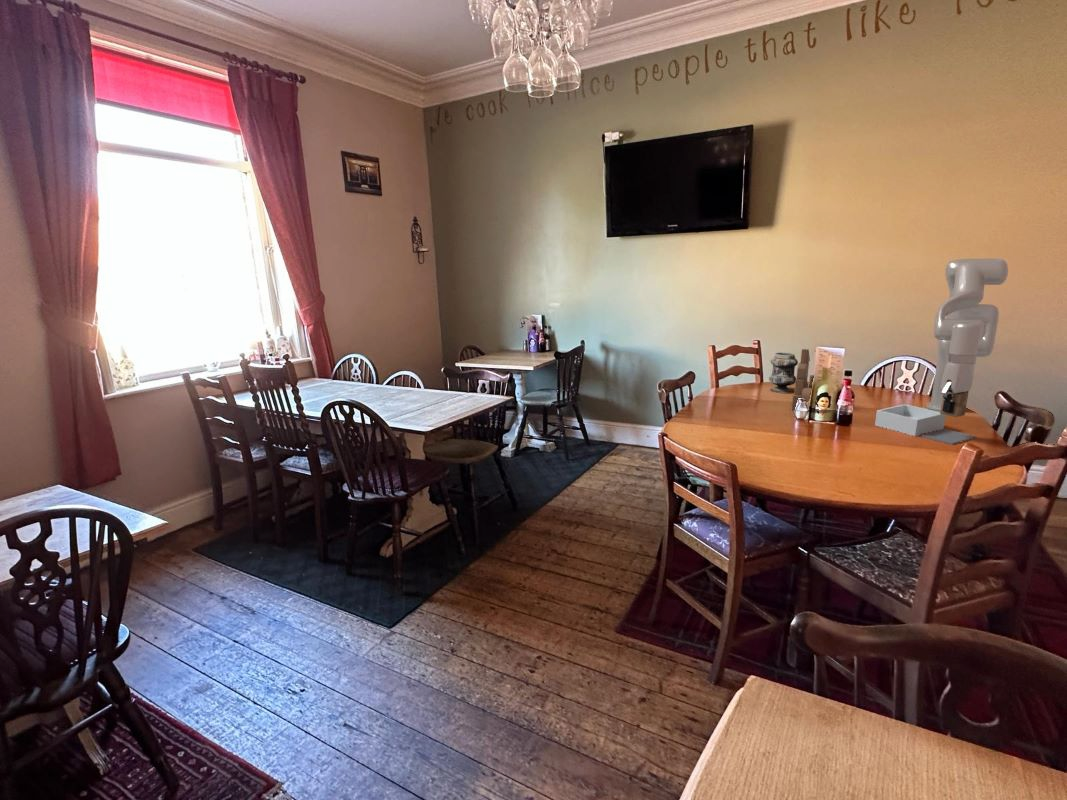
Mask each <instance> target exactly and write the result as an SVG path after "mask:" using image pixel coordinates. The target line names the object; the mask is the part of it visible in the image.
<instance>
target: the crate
mask: <svg viewBox="0 0 1067 800" xmlns="http://www.w3.org/2000/svg"><path fill="white" fill-rule="evenodd" d="M946 416H947V415H943V414H940V411H937V410H932V409H929V408H926V407H925V408H924V407H920V406H916V405H915V406H914V405H912V404H908V403H907V404H905V403H904V404H899V405H895V406H891V407H885V408H881V409H878V410H876V414H875V421H874V422H875V423H874V426H876V427H878V426H879V427H878V428H882V427H883V429H886V428H887V429H886V430H890V429H891V430H890V431H893V430H895V431H894V432H897V431H899V432H898V433H901V432H902V434H905V433H906V434H905V435H908V434H909V436H912V435H913V436H912V437H918V436H921V434H922V435H923V434H924V433H926V434H927V433H928V432H930V433H931V432H933V431H934V432H935V431H936V430H937V431H939V430H942V429H945V428H944V426H945V422H946Z"/></svg>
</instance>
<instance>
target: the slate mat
mask: <svg viewBox="0 0 1067 800" xmlns="http://www.w3.org/2000/svg"><path fill="white" fill-rule="evenodd" d="M924 437H925V438H924ZM920 438H924V439H928V438H929V439H928V440H931V439H932V441H935V440H936V442H939V443H943V444H947V445H950V444H953V445H956V444H955V443H957V444H959V443H958V442H960V441H964V442H966V441H965V440H968V439H971V440H973V439H972V438H975V439H977V435H972V434H969V433H968V434H967V433H963V432H960V431H956V430H951V429H947V428H944V429H941V430H937V431H934V432H930V433H926V434H922V435H920ZM968 441H969V440H968Z"/></svg>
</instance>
